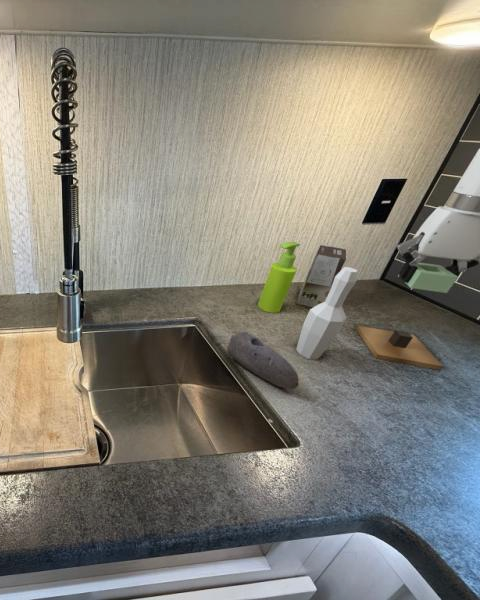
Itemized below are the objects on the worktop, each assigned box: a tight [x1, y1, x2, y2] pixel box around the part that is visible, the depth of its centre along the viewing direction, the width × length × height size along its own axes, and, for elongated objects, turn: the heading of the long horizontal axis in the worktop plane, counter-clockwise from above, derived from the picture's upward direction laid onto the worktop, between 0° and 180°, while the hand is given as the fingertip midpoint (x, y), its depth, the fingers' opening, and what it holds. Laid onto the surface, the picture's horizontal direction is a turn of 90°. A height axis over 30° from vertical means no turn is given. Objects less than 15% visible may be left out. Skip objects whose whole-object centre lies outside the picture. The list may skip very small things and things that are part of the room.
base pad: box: [355, 325, 444, 371], centre depth 75 cm, size 12×12×4 cm
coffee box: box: [296, 244, 347, 309], centre depth 90 cm, size 9×6×16 cm
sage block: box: [397, 262, 459, 294], centre depth 71 cm, size 6×6×4 cm
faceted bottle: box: [295, 266, 359, 360], centre depth 68 cm, size 6×6×22 cm
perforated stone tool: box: [226, 331, 300, 390], centre depth 66 cm, size 15×5×7 cm, turn 30°
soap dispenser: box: [257, 241, 301, 314], centre depth 86 cm, size 6×7×20 cm
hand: (422, 281), depth 72 cm, fingers closed on sage block, 6 cm apart
